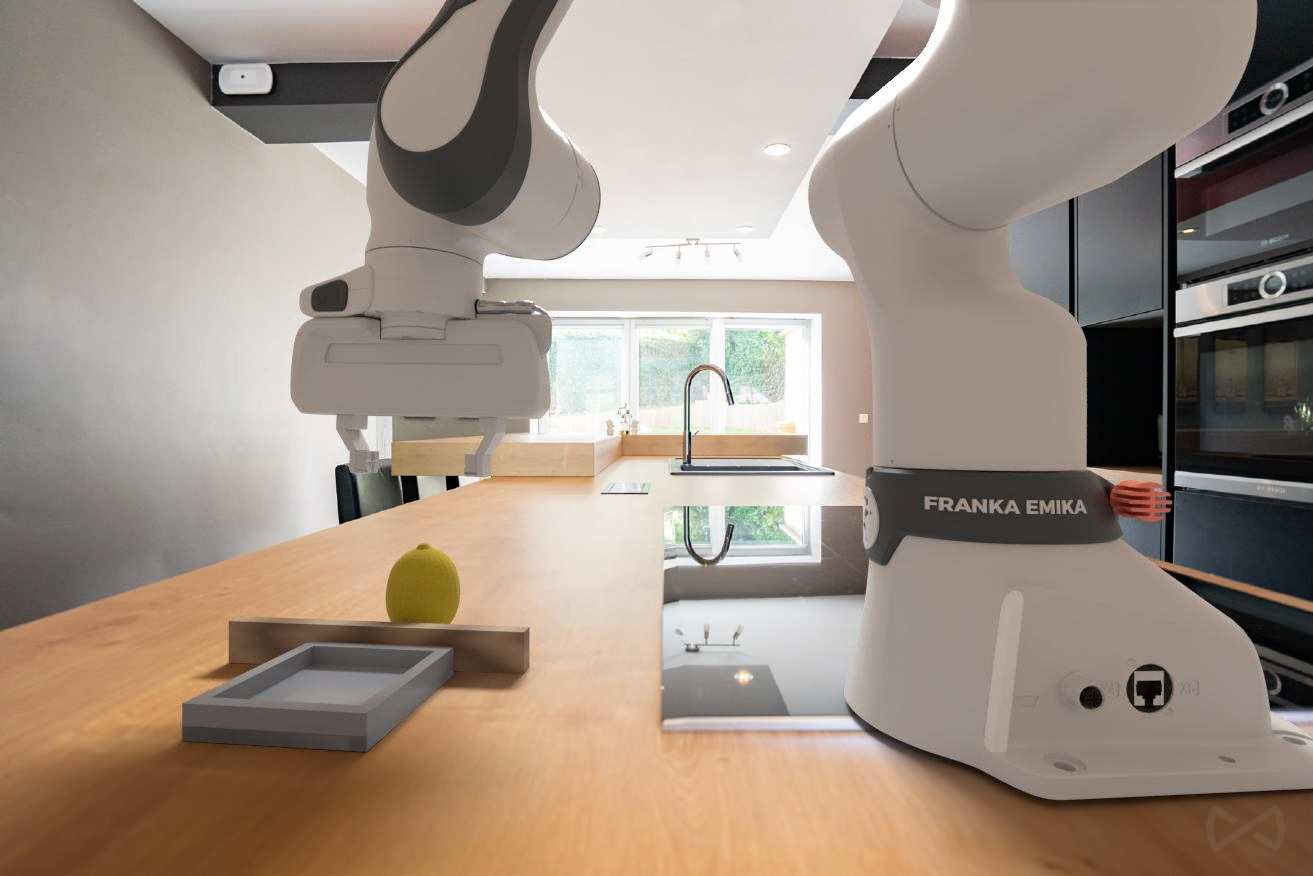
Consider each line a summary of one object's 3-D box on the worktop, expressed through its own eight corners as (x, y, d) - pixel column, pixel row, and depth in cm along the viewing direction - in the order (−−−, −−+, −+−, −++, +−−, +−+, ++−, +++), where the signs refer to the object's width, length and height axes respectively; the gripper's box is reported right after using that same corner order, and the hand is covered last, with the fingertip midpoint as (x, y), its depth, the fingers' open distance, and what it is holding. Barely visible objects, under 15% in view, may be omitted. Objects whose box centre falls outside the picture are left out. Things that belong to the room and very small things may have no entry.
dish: (453, 676, 43) (453, 647, 43) (366, 751, 33) (366, 713, 33) (309, 669, 44) (309, 641, 44) (182, 740, 34) (182, 703, 34)
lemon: (436, 658, 47) (436, 550, 47) (369, 653, 48) (370, 547, 48) (472, 635, 52) (473, 538, 52) (412, 631, 53) (412, 536, 53)
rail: (529, 669, 45) (529, 627, 45) (524, 676, 43) (524, 632, 43) (241, 656, 47) (241, 616, 47) (228, 662, 46) (228, 621, 46)
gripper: (563, 309, 52) (558, 476, 52) (330, 309, 55) (326, 469, 54) (540, 290, 46) (535, 481, 46) (279, 291, 48) (274, 473, 48)
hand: (420, 475), depth 50 cm, fingers open, 8 cm apart
